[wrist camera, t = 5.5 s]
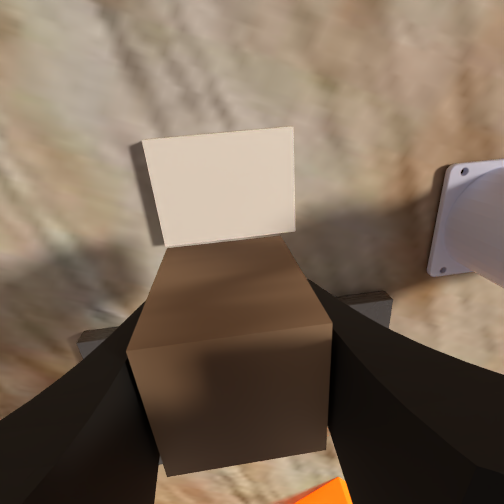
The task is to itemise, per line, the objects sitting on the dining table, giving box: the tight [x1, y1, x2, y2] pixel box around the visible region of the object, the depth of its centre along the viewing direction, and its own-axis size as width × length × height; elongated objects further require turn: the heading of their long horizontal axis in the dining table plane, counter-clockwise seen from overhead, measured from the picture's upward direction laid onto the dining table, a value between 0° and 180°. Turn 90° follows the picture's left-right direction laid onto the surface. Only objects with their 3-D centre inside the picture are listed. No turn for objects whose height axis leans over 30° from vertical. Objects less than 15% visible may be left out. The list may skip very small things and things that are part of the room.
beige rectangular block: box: [142, 126, 295, 247], centre depth 17 cm, size 8×6×1 cm
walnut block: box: [126, 236, 333, 477], centre depth 9 cm, size 4×4×5 cm
